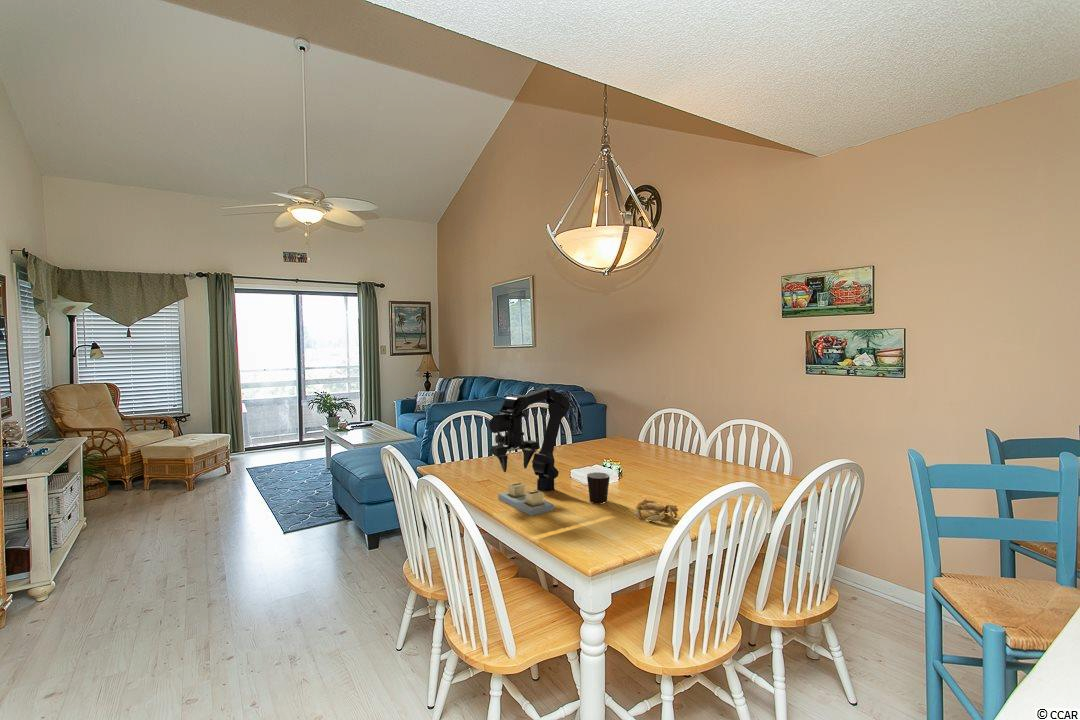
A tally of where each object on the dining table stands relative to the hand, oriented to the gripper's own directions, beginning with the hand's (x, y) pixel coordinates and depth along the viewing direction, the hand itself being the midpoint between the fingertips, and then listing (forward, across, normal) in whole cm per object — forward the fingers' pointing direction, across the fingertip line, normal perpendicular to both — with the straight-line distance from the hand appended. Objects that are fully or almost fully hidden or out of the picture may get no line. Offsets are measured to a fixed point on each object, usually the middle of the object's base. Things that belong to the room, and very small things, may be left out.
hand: (515, 470), depth 192 cm
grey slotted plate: (+12, +1, +8) cm, 14 cm away
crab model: (+12, -29, +44) cm, 54 cm away
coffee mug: (+12, -24, +20) cm, 33 cm away
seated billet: (+11, +1, +14) cm, 18 cm away
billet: (+11, +1, +2) cm, 11 cm away
